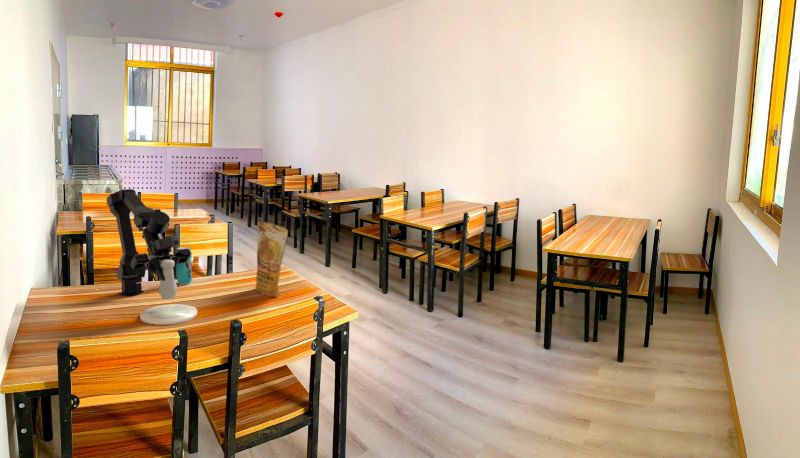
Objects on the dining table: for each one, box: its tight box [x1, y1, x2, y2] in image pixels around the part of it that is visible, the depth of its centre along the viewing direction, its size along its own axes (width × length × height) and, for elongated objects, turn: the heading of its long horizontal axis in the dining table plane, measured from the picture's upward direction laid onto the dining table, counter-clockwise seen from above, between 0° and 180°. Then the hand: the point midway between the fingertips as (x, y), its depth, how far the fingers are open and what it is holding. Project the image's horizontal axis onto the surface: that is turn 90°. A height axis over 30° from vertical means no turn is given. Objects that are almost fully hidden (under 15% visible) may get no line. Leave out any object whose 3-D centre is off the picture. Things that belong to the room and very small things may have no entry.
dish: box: [139, 303, 198, 326], centre depth 181 cm, size 18×18×1 cm
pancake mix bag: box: [255, 221, 289, 298], centre depth 211 cm, size 7×19×28 cm, turn 44°
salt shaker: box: [158, 260, 178, 300], centre depth 179 cm, size 6×6×13 cm
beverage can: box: [176, 246, 193, 286], centre depth 218 cm, size 6×6×15 cm
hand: (169, 279), depth 178 cm, fingers closed on salt shaker, 3 cm apart
